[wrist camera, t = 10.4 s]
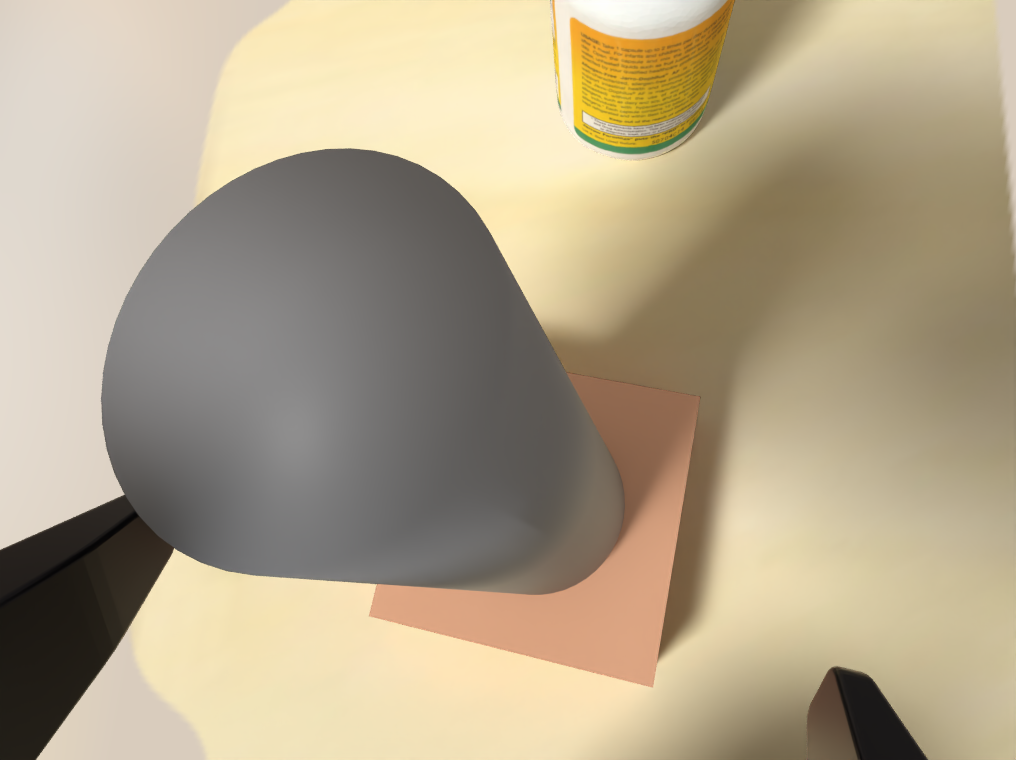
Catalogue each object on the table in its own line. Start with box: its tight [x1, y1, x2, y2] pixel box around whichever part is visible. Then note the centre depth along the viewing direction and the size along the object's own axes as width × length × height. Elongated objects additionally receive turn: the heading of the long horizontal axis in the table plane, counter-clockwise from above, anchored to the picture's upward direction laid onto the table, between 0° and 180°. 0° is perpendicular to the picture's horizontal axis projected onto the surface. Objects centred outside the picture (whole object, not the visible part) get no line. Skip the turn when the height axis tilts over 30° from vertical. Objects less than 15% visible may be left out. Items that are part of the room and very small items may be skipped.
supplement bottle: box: [550, 0, 735, 160], centre depth 21 cm, size 5×5×10 cm
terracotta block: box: [369, 372, 700, 687], centre depth 22 cm, size 8×8×3 cm
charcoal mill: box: [101, 148, 625, 595], centre depth 14 cm, size 5×5×13 cm
